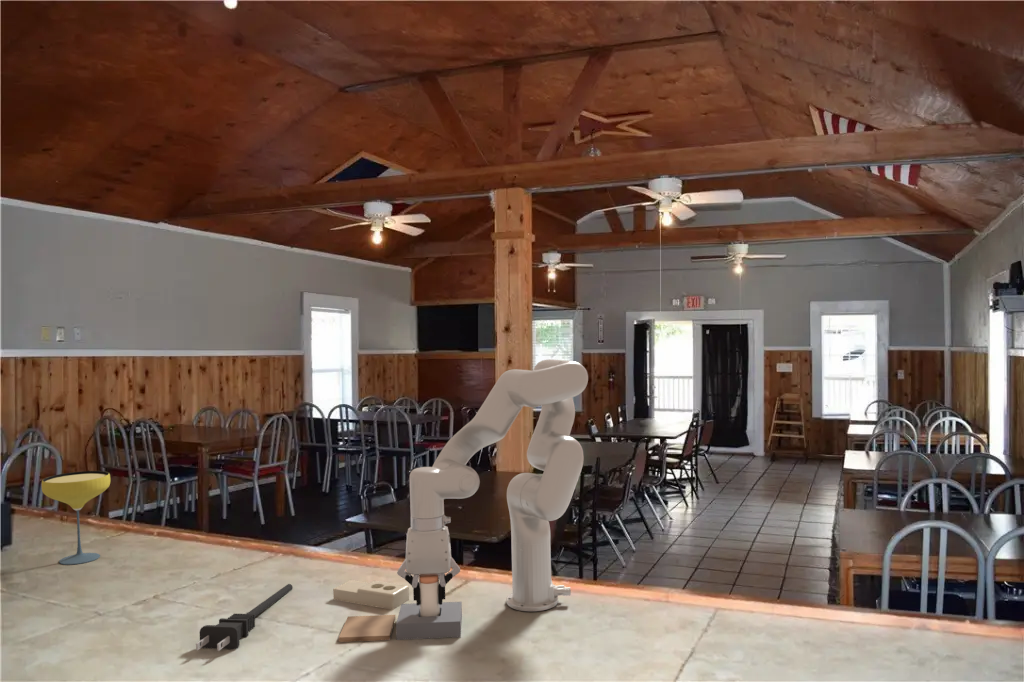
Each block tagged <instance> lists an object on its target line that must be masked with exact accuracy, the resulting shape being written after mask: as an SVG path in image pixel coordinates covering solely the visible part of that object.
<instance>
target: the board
mask: <svg viewBox="0 0 1024 682" xmlns="http://www.w3.org/2000/svg"><path fill="white" fill-rule="evenodd" d="M394 622H396V614H378V615H359V616H358V615H355V616H347V618H346V620H345V622H344V625H343V627H342V629H341V632H340V633H339V635H338V642H339V643H345V642H346V643H347V642H348V643H349V642H371V641H373V642H374V641H375V642H376V641H390V640H391V638H392V637H391V636H392V633H393V629H394V626H395V623H394Z"/></svg>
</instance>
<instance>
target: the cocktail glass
mask: <svg viewBox="0 0 1024 682" xmlns="http://www.w3.org/2000/svg"><path fill="white" fill-rule="evenodd" d="M110 484H111V474H110V472H108V471H106V470H105V471H103V470H87V471H86V470H83V471H74V472H66V473H59V474H55V475H51V476H48V477H45V478H43V479H42V480H41V492H42V493H43V495H45V496H46V497H48V499H52V500H54V501H58V502H61V503H64V504H66V505H68V506H70V507H71V509H73V510H74V511H76V528H77V548H76V553H75V554H72V555H71V554H70V555H68V556H65V557H62V558H60V560H59V561H58V563H59V564H60V565H64V566H70V565H71V566H72V565H83V564H87V563H90V562H94V561H97V560H98V559H100V557H101V555H100V553H96V552H83V550H82V544H81V528H80V527H81V526H80V511H81V510H82V509H83V507H84V506H85V505H86V504H87V503H88V502H90V501H91V500H92V499H94V498H96V497H97V496H99V495H101V494H103V493H104V492H105V491H106V490H107V489H108V488H109V487H110Z"/></svg>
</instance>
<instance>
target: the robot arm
mask: <svg viewBox="0 0 1024 682" xmlns="http://www.w3.org/2000/svg"><path fill="white" fill-rule="evenodd" d="M588 381H589V374H588V371H587V369H586V368H585V366H583V365H582V364H581V363H579V362H578V361H575V360H574V361H573V360H566V359H565V360H562V359H552V358H551V359H544V360H541V361H539V362H537V363H536V364H535V366H534V368H533V370H529V369H516V368H515V369H509V370H506V371H504V372H503V373H502V374H501V375H500V376H499V378H497V381H496V382H495V384H494V386H493V387H492V389H491V390H490V391H489V393H488V395H487V396H486V398H485V400H483V401H484V402H482V404H481V406H480V408H479V409H478V410H477V413H476V414H475V416H474V417H473V418H472V419H471V420H470V421H469V422H467V423H466V424H465V425H464V426H463V427H461V429H459V430H458V431H457V432H456V433H455V434H454V435H452V437H451V438H450V439H449V440H448V441H447V442H446V444H445V445H444V447H443V448H442V450H441V451H440V452H439V454H438V456H437V458H436V459H435V460H434V463H433V464H432V466H422V467H416V468H414V469H412V470H411V471H410V473H409V502H410V505H409V507H410V527H409V528H407V534H406V542H405V558H404V560H403V562H402V564H401V565H400V566H399V568H398V570H397V572H396V575H397V576H399V577H400V578H402V579H404V580H405V581H406V582H407V583H408V584H410V586H411V587H412V592H413V596H412V597H413V601H415V603H416V604H417V605H420V587H419V575H423V574H438V577H439V587H438V592H439V604H440V605H442V602H444V601H443V600H446V586H447V584H448V583H449V582H450V581H451V580H452V579H453V578H454V577H456V576H457V575H458V574H460V573H461V567H460V566H459V565H458V563H456V561H455V559H454V558H453V557H452V549H451V548H452V547H451V537H450V532H449V527H448V526H446V524H450V523H451V521H452V520H451V518H452V517H451V516H446V515H445V504H444V503H445V502H444V500H446V499H452V500H453V499H457V500H460V499H467V498H470V497H472V496H473V495H475V493H476V492H477V491H478V490H479V487H480V483H481V481H480V476H479V474H478V473H477V471H476V470H475V469H474V468H473V467H470V466H468V465H467V463H468V462H469V461H470V459H472V457H473V456H474V455H475V454H476V453H477V452H479V451H480V450H482V449H483V448H486V447H488V446H490V445H493V444H495V443H497V442H499V441H502V439H504V438H505V437H506V436H507V434H508V432H509V430H510V428H511V427H512V425H513V423H514V422H515V420H516V419H517V417H518V415H519V414H520V413H521V411H522V409H523V407H527V408H528V407H529V408H536V407H537V408H538V407H541V409H540V414H539V417H538V420H537V422H536V426H535V428H534V430H533V432H532V433H533V434H532V435H531V439H530V442H529V443H528V448H527V450H526V460H527V461H528V463H529V464H530V466H531V467H534V468H535V469H537V470H540V471H543V473H542V475H540V474H536V473H531V472H522V473H519V474H517V475H515V476H514V477H512V479H511V480H510V482H508V486H507V487H506V488H507V489H506V502H507V507H508V511H509V519H510V531H511V532H510V535H511V538H510V539H511V578H512V585H511V587H512V592H511V593H509V594H508V595H507V597H506V604H507V606H508V607H509V608H511V609H514V610H517V611H520V612H521V611H522V612H542V611H546V610H550V609H553V608H554V607H556V606H557V604H558V603H559V596H566V597H567V596H571V595H572V594H571V593H572V592H571V590H572V589H571V586H569V587H568V586H567V587H566V586H565V585H564V584H562V585H561V584H559V585H555V584H554V583H553V580H552V560H551V557H552V556H551V553H552V552H551V550H552V549H551V527H550V522H553V521H556V520H558V519H559V518H561V517H562V516H564V514H565V513H566V511H567V509H568V507H569V505H570V503H571V500H572V499H573V498H572V497H573V495H574V492H575V489H576V487H577V484H578V481H579V479H580V476H581V473H582V469H583V466H584V461H585V460H584V459H585V458H584V450H583V447H582V445H581V444H580V442H579V441H578V440H577V439H575V438H574V437H572V436H570V435H571V431H572V427H573V425H574V423H575V416H576V408H575V403H574V397H577V396H579V395H580V394H581V393H583V392H584V391H585V389H586V387H587V385H588Z"/></svg>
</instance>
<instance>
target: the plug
mask: <svg viewBox="0 0 1024 682" xmlns="http://www.w3.org/2000/svg"><path fill="white" fill-rule="evenodd" d="M418 582H419V587H420V617H431V616H440V605H439V592H438V587H439V583H440V581H439V577H438V574H423V575H419V579H418Z"/></svg>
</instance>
